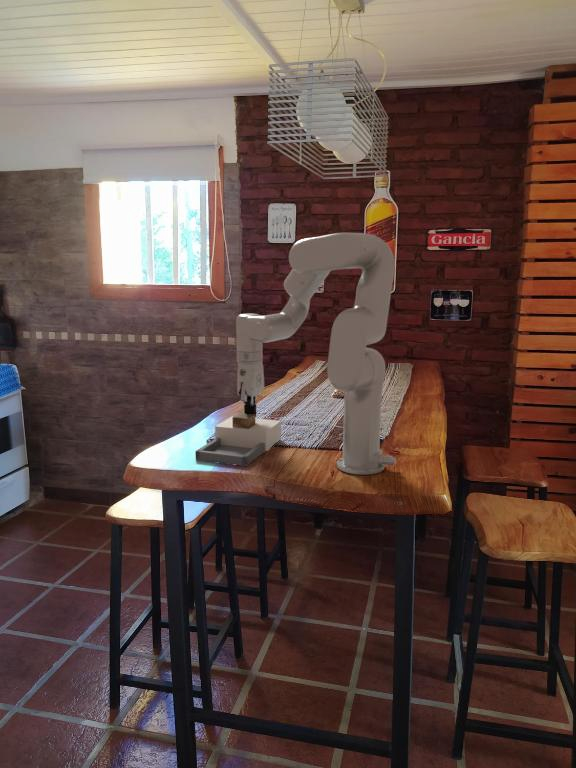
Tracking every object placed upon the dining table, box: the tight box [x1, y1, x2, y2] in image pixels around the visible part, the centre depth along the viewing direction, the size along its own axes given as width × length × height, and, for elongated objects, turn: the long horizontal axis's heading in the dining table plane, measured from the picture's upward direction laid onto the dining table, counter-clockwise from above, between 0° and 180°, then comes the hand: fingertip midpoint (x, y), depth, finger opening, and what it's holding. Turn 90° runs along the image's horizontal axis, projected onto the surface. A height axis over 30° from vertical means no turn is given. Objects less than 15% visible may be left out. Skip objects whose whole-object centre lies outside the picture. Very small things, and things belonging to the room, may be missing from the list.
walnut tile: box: [231, 412, 256, 429], centre depth 175 cm, size 5×5×3 cm
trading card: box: [299, 423, 343, 436], centre depth 189 cm, size 11×1×18 cm
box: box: [195, 438, 266, 467], centre depth 167 cm, size 15×13×3 cm
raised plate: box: [214, 415, 282, 453], centre depth 178 cm, size 16×12×6 cm
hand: (250, 417), depth 179 cm, fingers closed
